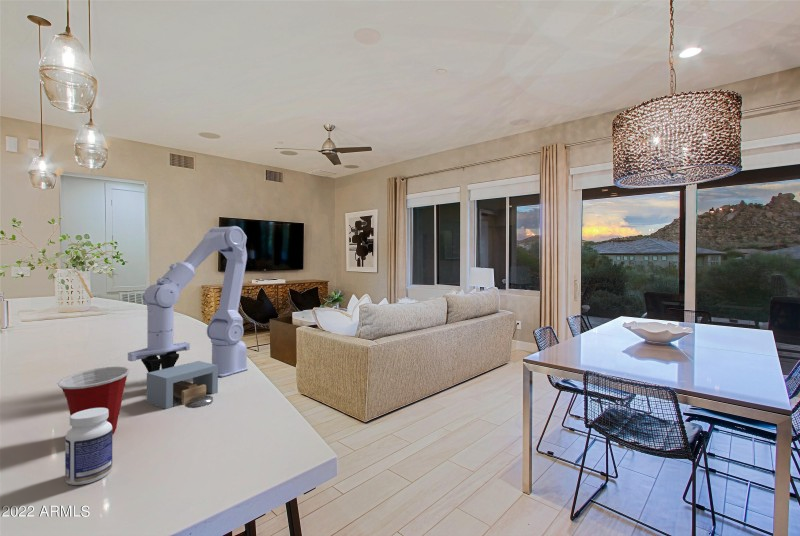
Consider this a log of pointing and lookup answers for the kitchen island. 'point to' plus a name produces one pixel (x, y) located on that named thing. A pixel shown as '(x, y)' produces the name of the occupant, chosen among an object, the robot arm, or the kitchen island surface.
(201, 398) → the steel token
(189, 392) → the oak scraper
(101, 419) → the pill bottle
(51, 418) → the kitchen island surface
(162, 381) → the low shelf
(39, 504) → the kitchen island surface
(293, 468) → the kitchen island surface
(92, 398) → the plastic cup
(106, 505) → the kitchen island surface
